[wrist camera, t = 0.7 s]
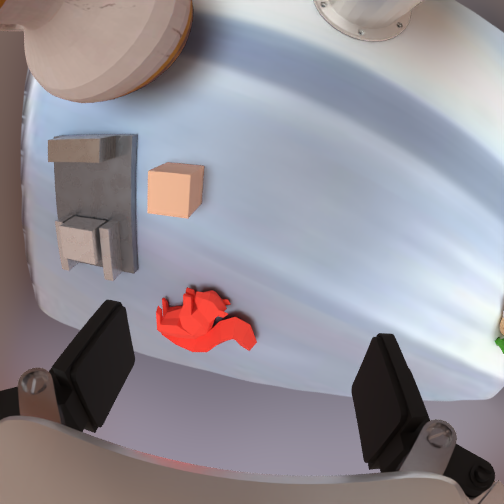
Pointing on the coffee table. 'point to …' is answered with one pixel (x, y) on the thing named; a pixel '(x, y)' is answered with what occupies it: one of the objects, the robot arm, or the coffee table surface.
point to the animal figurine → (202, 323)
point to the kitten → (500, 342)
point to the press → (99, 193)
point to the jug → (98, 43)
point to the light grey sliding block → (82, 239)
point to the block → (175, 189)
